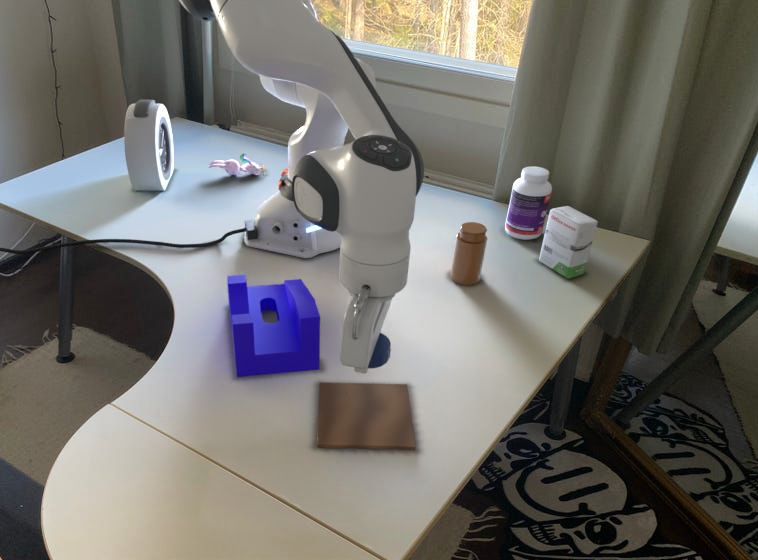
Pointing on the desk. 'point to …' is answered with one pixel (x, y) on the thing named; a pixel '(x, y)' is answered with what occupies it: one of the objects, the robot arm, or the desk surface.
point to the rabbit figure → (238, 166)
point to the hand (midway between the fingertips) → (367, 354)
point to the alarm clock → (148, 146)
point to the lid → (380, 352)
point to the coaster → (364, 416)
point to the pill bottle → (528, 204)
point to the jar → (469, 253)
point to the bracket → (273, 327)
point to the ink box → (567, 241)
